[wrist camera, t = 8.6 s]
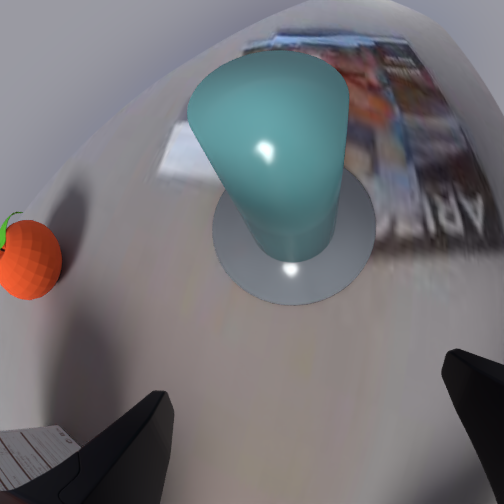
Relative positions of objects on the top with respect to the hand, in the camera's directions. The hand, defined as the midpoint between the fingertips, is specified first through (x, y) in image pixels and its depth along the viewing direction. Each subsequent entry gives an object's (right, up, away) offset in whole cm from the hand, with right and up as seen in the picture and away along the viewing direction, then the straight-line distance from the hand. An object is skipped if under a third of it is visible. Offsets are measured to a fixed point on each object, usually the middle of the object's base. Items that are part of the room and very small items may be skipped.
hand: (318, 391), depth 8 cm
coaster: (+1, +6, +12) cm, 13 cm away
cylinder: (+1, +6, +11) cm, 13 cm away
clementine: (-21, +3, +16) cm, 26 cm away
